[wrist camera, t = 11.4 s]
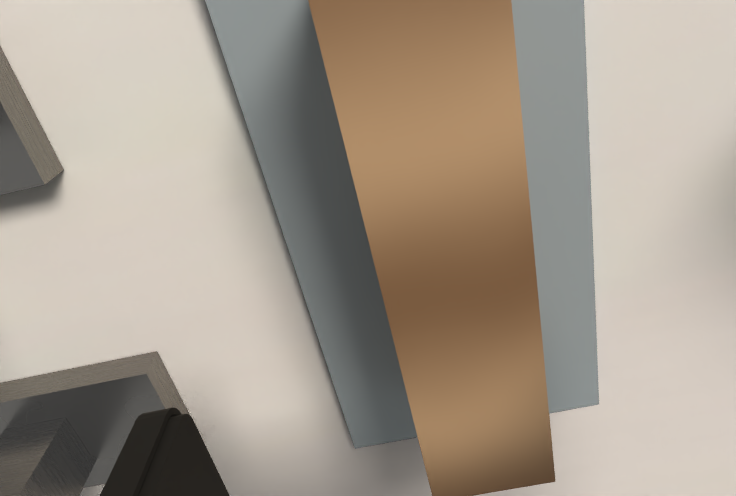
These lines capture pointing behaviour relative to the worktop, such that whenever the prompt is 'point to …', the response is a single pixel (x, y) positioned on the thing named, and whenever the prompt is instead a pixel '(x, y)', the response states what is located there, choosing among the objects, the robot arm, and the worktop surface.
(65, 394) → the stand
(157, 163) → the worktop surface
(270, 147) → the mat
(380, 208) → the tan wooden bar
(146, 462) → the robot arm
